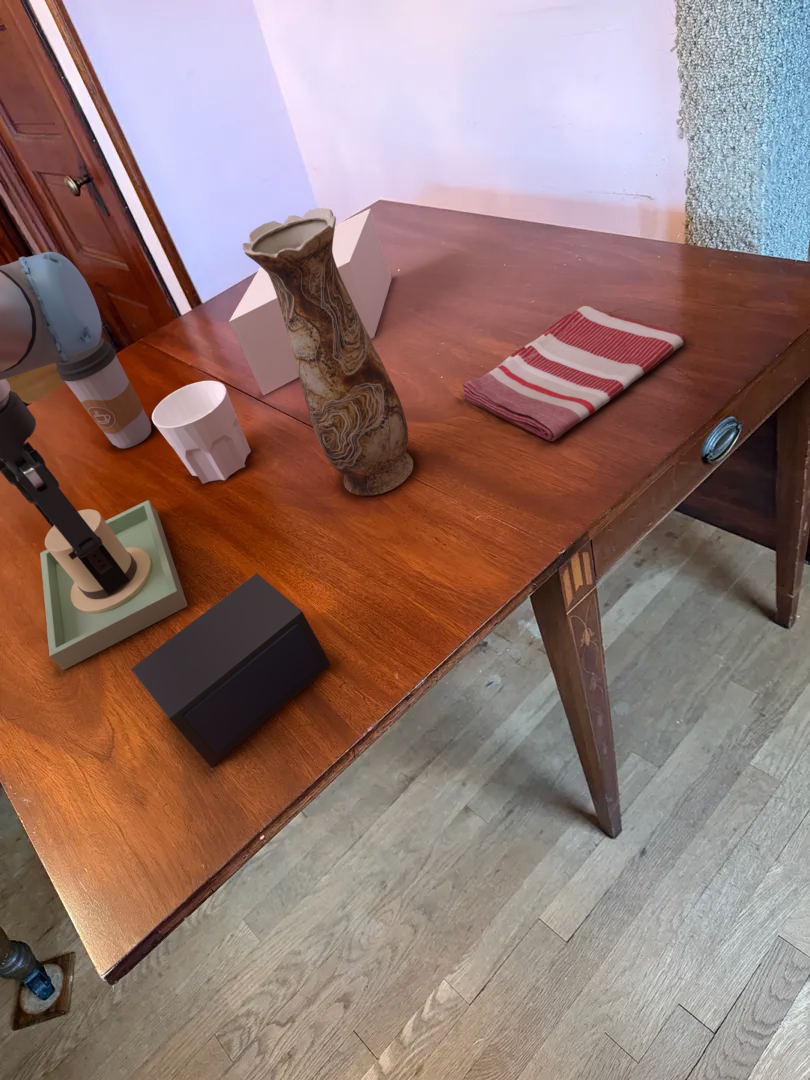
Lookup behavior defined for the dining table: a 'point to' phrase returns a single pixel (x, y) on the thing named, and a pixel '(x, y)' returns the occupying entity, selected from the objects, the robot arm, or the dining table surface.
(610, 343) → the dish towel
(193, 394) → the cup
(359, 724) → the dining table surface
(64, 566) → the hat
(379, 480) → the vase
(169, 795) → the dining table surface
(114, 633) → the tray
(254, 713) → the black rectangular block
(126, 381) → the coffee cup
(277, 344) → the block
